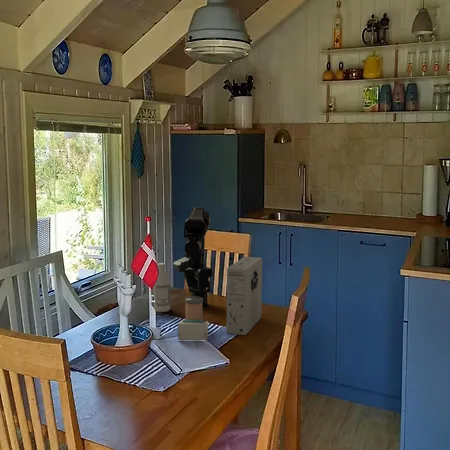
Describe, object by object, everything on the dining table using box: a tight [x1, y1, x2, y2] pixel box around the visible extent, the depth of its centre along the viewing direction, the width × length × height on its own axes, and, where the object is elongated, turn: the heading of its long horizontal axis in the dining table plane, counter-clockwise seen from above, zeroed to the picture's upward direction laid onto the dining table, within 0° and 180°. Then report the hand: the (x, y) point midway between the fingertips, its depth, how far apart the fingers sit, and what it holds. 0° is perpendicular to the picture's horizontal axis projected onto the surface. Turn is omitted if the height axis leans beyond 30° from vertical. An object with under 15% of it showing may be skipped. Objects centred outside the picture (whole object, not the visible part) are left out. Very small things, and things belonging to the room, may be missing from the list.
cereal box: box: [226, 256, 263, 336], centre depth 212 cm, size 22×8×25 cm, turn 160°
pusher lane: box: [177, 320, 209, 342], centre depth 202 cm, size 12×10×6 cm
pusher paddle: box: [182, 319, 205, 323], centre depth 200 cm, size 2×7×5 cm, turn 89°
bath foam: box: [152, 262, 171, 313], centre depth 231 cm, size 7×7×20 cm
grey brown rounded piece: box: [184, 295, 203, 320], centre depth 203 cm, size 7×7×12 cm
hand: (194, 289), depth 216 cm, fingers open, 9 cm apart
